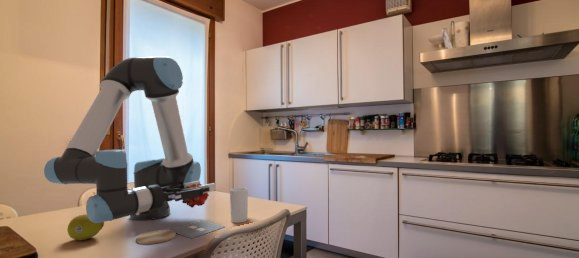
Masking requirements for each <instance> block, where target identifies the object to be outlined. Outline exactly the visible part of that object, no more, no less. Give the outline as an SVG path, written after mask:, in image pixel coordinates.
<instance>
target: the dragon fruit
mask: <svg viewBox="0 0 579 258" xmlns="http://www.w3.org/2000/svg"><path fill="white" fill-rule="evenodd" d="M202 185H203V184H201V183H200V184H197V185H196V184H193V185H191V186H187V187H186V188H184V189H187V188H195V187H199V186H202ZM209 196H210V194H209V192H208V193H204V194H203V196H202V197H200V196H198V197H193V198H188V199H183V200H181V203H183V204H186V206H188V207H190V208H195V206H198V207H199V206H201V207H202V206H203V205H205V203H206V201H207V200H208V197H209Z"/></svg>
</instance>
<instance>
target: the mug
mask: <svg viewBox="0 0 579 258" xmlns="http://www.w3.org/2000/svg"><path fill="white" fill-rule="evenodd" d="M248 192H249V191H248V188H247V187H234V188H231V189H229V197H230V200H229V203H230V222H231V223H233V224H234V223H235V224H236V223H237V224H238V223H239V224H240V223H245V222H247V221H248V211H249V210H248V204H249V203H248V200H249V199H248V198H249V197H248V196H249V195H248V194H249V193H248Z"/></svg>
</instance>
